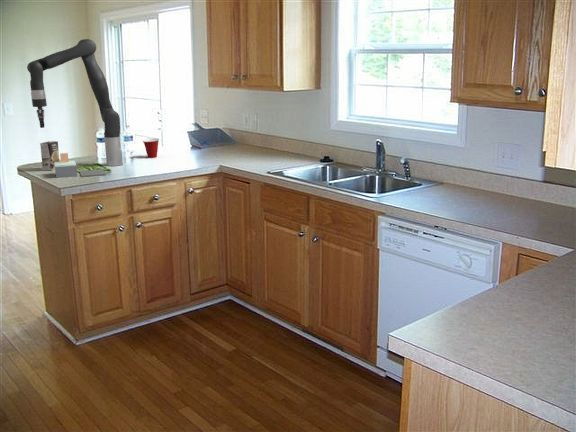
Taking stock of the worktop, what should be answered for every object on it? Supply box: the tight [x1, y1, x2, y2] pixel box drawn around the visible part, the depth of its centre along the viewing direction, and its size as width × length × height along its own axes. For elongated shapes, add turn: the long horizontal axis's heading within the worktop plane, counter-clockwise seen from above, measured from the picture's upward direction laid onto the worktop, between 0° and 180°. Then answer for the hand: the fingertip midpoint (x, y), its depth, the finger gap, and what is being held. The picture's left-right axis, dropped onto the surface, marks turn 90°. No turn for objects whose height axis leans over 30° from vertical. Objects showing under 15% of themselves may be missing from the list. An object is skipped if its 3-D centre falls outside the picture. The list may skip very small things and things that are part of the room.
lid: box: [54, 152, 77, 167], centre depth 345 cm, size 11×13×7 cm
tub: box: [54, 165, 78, 179], centre depth 347 cm, size 11×13×6 cm
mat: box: [79, 169, 106, 178], centre depth 351 cm, size 13×15×1 cm
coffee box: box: [39, 140, 61, 172], centre depth 363 cm, size 9×6×16 cm
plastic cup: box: [142, 137, 160, 159], centre depth 402 cm, size 11×11×12 cm
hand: (42, 126), depth 351 cm, fingers open, 8 cm apart
